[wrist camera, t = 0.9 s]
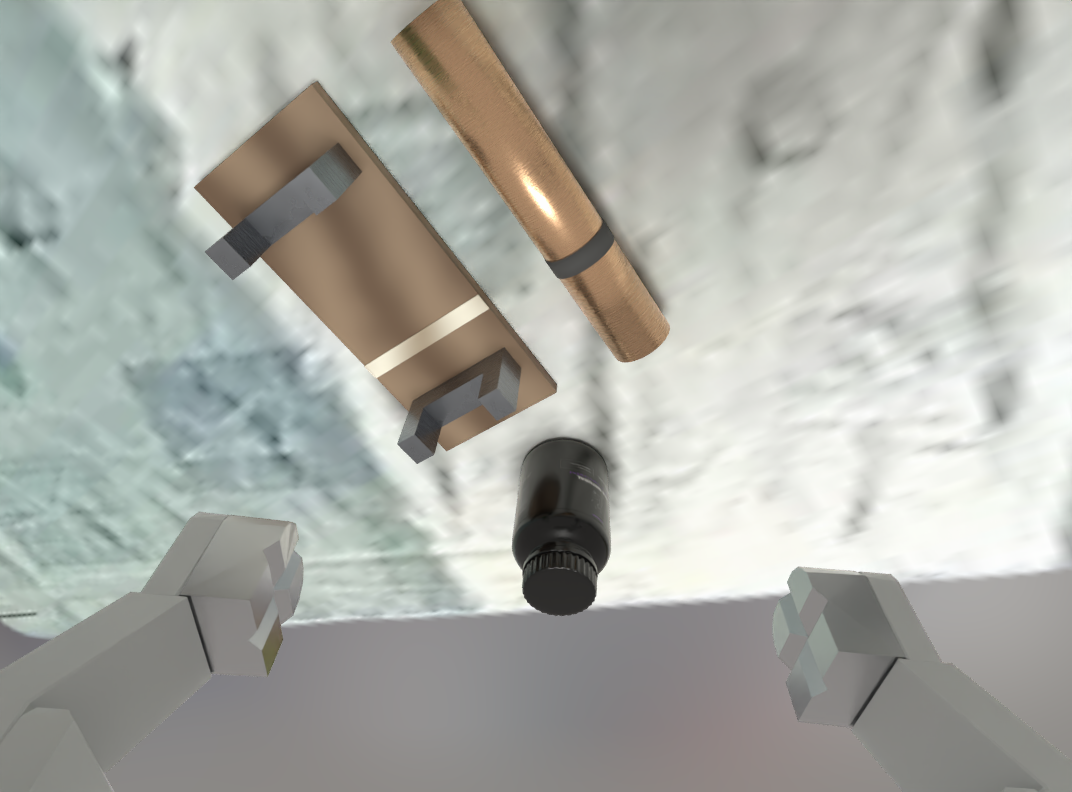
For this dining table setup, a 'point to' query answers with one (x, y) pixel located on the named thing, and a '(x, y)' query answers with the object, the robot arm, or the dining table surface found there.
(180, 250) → the dining table surface
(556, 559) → the supplement bottle
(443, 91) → the copper tube
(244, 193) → the cradle board
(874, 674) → the robot arm
